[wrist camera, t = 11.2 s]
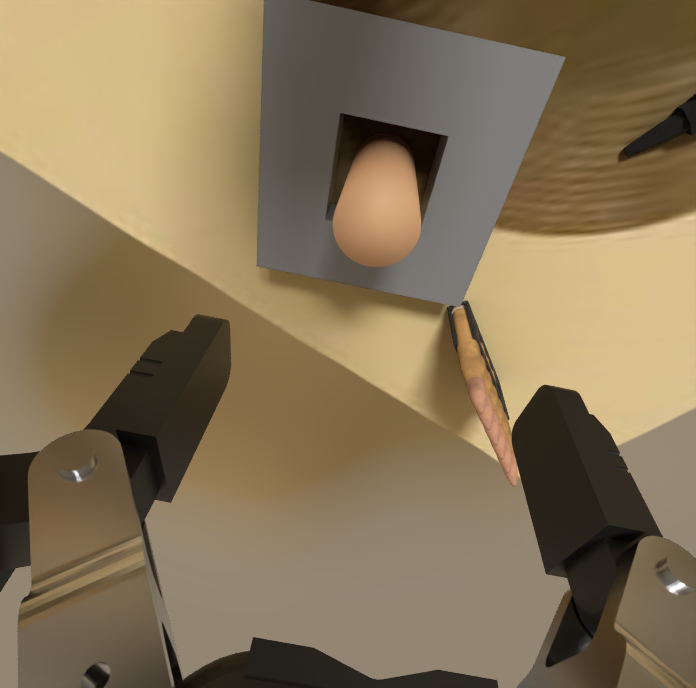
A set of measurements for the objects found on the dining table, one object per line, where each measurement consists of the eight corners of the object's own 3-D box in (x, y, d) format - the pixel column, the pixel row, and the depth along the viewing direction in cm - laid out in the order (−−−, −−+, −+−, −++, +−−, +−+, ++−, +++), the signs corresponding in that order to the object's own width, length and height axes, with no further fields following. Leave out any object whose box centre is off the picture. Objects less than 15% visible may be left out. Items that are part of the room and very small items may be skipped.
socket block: (280, -6, 23) (264, -10, 20) (546, 53, 24) (565, 57, 21) (268, 246, 33) (256, 266, 30) (455, 284, 34) (459, 307, 31)
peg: (358, 127, 27) (340, 172, 18) (422, 140, 27) (432, 192, 18) (348, 191, 30) (327, 258, 21) (405, 203, 30) (408, 274, 21)
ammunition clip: (446, 306, 35) (463, 407, 26) (467, 299, 34) (492, 400, 25) (481, 387, 41) (505, 494, 31) (499, 382, 40) (529, 490, 31)
